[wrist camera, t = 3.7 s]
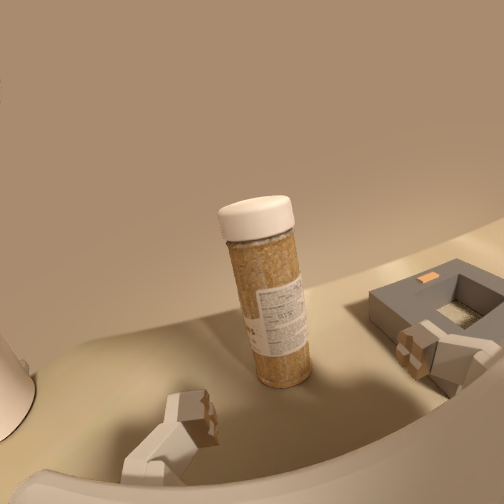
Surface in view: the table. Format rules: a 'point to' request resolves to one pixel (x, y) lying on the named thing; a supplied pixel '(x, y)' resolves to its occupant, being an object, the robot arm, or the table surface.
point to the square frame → (437, 295)
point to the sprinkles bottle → (269, 286)
